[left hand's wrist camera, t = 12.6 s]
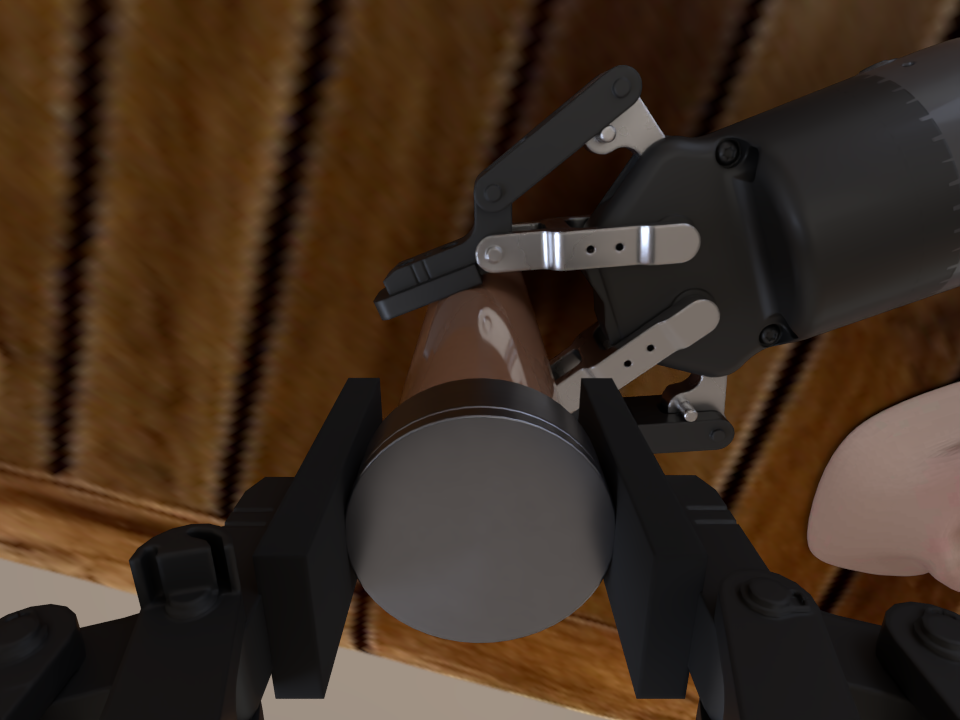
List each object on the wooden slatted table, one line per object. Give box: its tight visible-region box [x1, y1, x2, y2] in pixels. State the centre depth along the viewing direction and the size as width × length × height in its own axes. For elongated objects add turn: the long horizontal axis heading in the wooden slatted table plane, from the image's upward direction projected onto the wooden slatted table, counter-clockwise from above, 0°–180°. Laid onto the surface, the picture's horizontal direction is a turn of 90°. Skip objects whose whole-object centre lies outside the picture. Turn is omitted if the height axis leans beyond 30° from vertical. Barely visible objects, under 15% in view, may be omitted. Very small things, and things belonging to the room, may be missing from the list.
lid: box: [345, 378, 616, 643], centre depth 12 cm, size 5×5×2 cm
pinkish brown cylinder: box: [398, 271, 562, 406], centre depth 19 cm, size 4×4×17 cm
